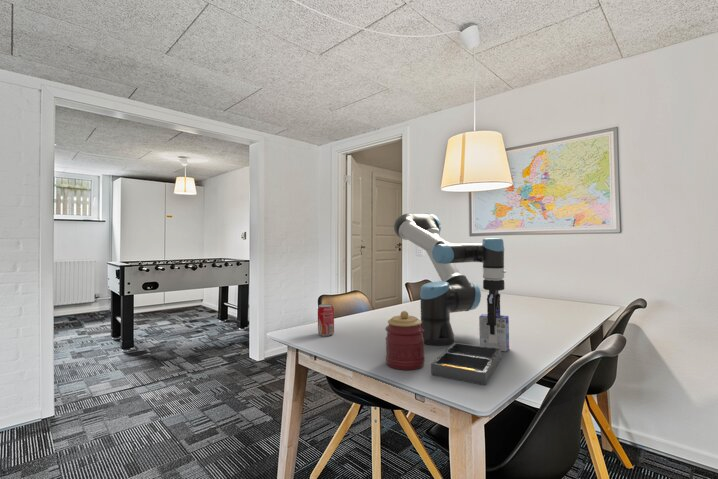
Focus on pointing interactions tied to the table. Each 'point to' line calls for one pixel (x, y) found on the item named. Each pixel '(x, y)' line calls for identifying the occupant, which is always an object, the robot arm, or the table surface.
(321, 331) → the soda can
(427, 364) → the table surface
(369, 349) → the table surface
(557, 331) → the table surface
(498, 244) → the robot arm
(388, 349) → the canister
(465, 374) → the tray
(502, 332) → the ink cartridge box
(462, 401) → the table surface
